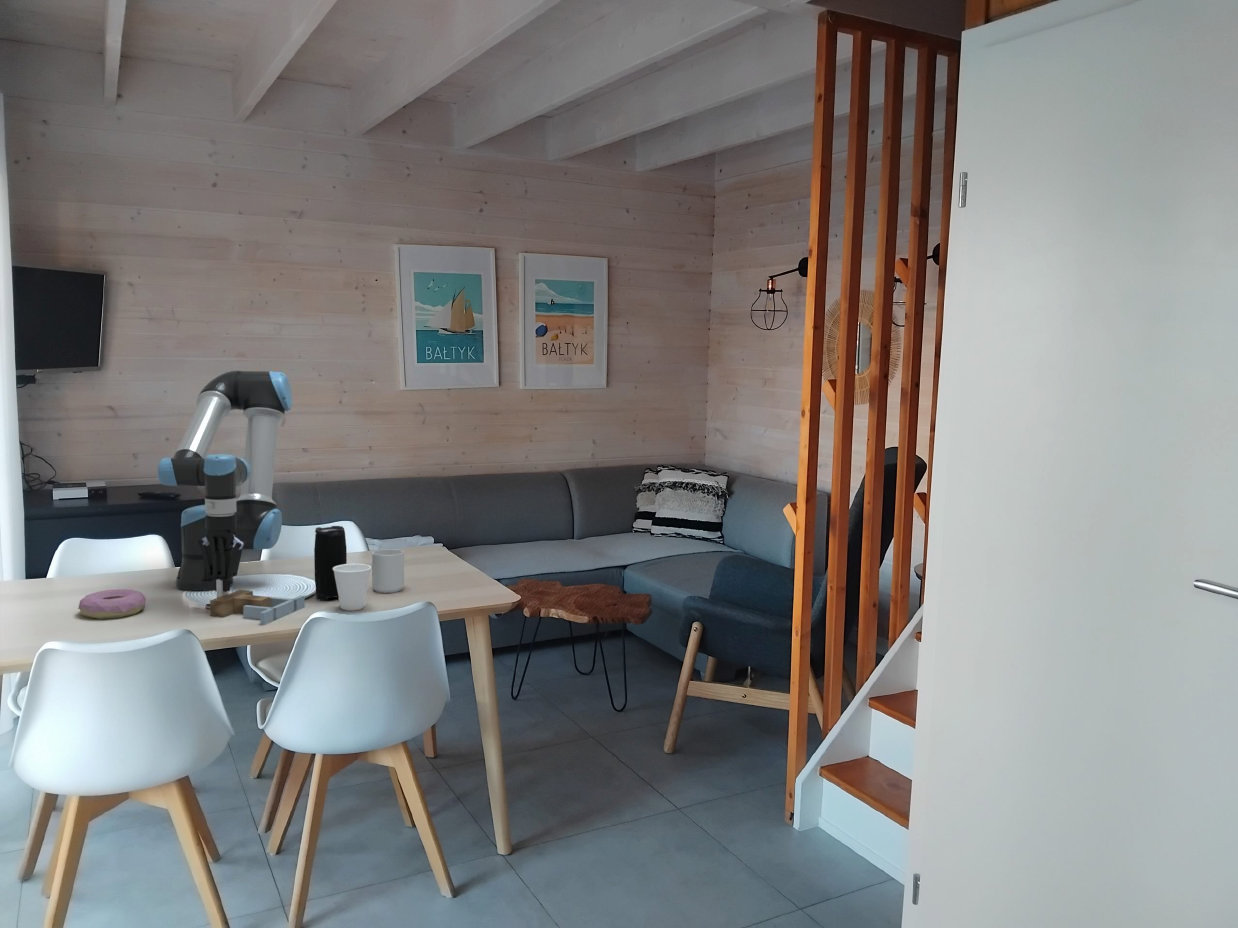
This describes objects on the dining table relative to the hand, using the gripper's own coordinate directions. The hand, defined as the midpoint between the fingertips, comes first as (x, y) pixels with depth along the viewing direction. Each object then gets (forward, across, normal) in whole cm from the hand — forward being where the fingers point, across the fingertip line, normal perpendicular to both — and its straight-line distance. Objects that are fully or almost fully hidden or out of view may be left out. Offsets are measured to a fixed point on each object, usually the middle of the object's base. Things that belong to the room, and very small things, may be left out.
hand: (222, 603), depth 251 cm
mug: (+2, +29, +35) cm, 45 cm away
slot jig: (+2, +14, +1) cm, 14 cm away
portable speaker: (+2, +19, +21) cm, 28 cm away
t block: (+2, +7, 0) cm, 7 cm away
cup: (+2, +30, +13) cm, 33 cm away
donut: (+2, -24, -11) cm, 27 cm away
